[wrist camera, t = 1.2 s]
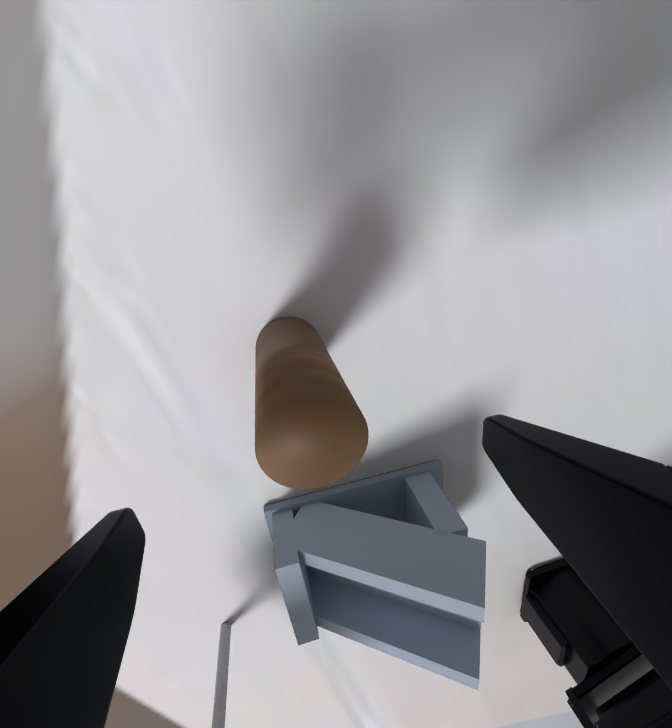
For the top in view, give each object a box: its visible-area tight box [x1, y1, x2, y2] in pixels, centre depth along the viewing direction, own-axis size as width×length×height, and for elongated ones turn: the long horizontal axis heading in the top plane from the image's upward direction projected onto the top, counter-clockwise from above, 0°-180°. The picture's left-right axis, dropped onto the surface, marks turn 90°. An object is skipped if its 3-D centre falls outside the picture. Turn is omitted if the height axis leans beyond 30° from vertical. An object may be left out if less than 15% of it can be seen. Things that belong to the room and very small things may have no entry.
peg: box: [255, 317, 368, 489], centre depth 13 cm, size 3×3×8 cm
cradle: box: [264, 460, 486, 690], centre depth 18 cm, size 11×7×8 cm, turn 97°
